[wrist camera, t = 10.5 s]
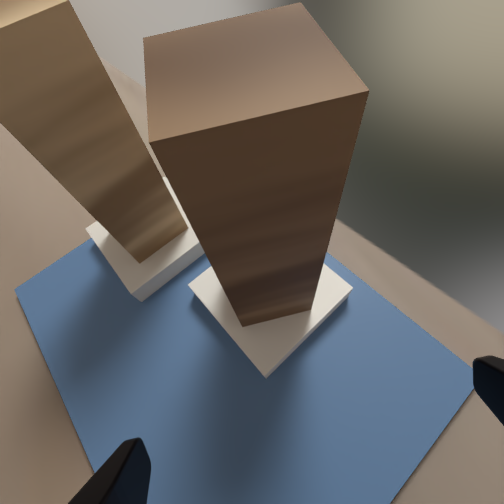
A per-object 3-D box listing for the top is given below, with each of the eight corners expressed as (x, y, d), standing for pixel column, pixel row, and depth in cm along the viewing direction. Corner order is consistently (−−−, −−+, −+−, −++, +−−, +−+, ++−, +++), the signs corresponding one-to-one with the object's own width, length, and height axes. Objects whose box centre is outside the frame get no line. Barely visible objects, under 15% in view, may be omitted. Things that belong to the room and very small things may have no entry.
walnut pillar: (311, 309, 16) (368, 90, 5) (242, 327, 16) (149, 142, 5) (290, 250, 18) (300, 2, 7) (229, 265, 18) (143, 38, 7)
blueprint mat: (475, 377, 15) (501, 373, 13) (217, 728, 10) (203, 794, 9) (211, 163, 25) (205, 144, 24) (21, 292, 21) (-5, 281, 19)
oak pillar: (188, 227, 19) (68, 0, 9) (139, 263, 18) (-67, 55, 8) (158, 197, 21) (27, -26, 10) (112, 228, 20) (-87, 17, 9)
